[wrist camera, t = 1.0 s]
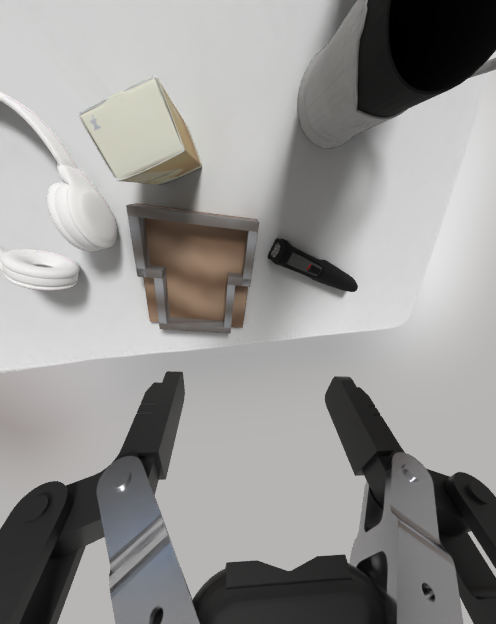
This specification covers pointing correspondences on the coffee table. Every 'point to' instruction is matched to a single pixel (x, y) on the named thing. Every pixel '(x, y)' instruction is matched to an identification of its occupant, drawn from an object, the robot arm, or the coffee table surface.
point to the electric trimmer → (310, 266)
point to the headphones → (60, 219)
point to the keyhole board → (193, 266)
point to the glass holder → (392, 63)
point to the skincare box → (141, 135)
